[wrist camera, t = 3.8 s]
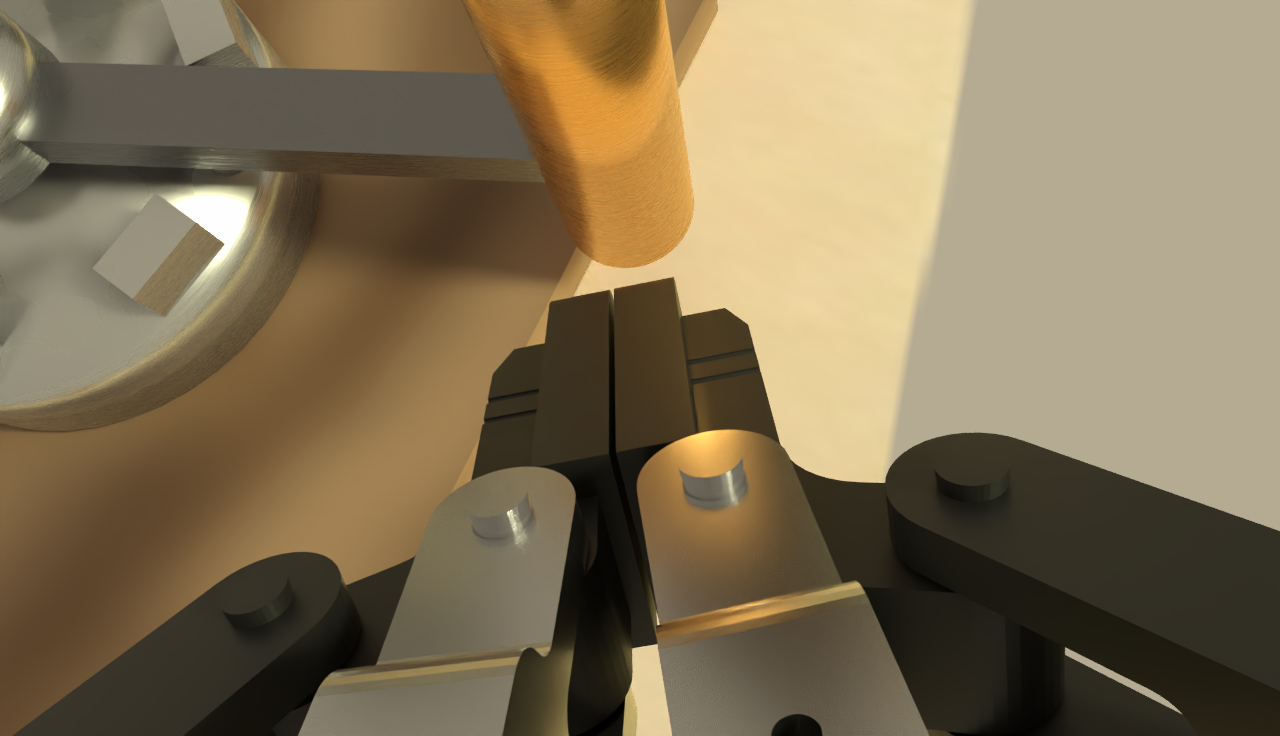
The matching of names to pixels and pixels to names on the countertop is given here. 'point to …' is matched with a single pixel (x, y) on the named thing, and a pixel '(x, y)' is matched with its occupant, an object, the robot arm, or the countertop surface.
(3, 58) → the wooden handle lever
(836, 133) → the countertop surface
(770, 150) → the countertop surface
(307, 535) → the base plate
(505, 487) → the robot arm
